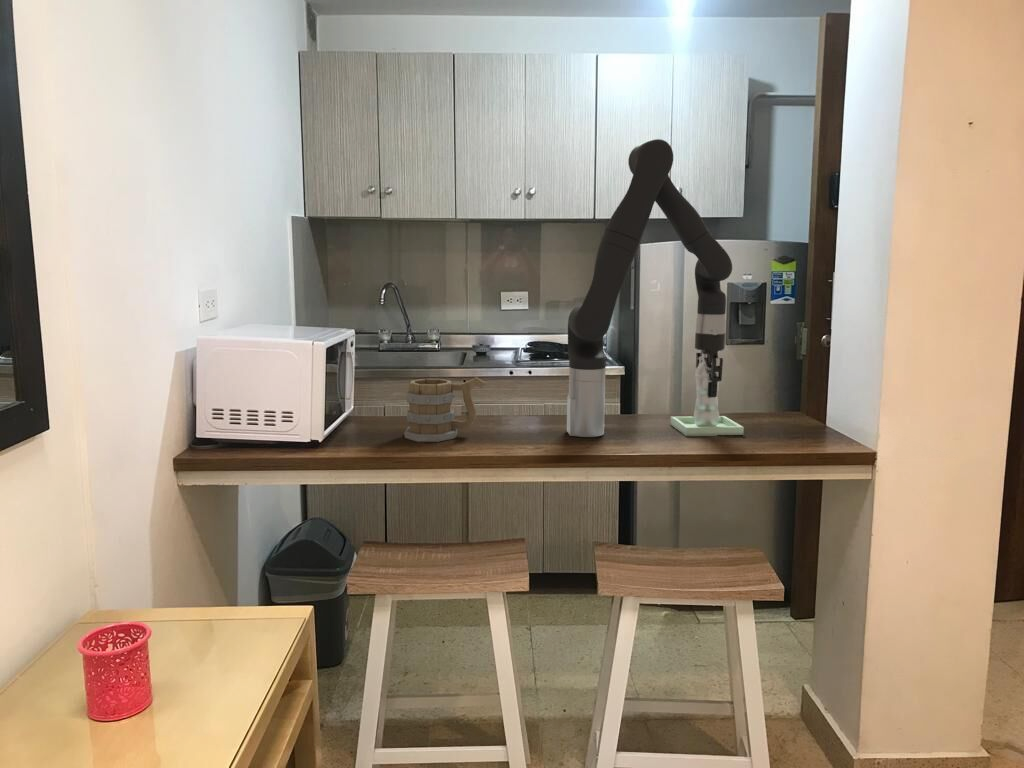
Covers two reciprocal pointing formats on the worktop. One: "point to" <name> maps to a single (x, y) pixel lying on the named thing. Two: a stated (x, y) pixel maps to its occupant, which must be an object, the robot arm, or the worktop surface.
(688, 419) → the tray
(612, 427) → the worktop surface
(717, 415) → the plastic bottle
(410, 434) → the tankard
